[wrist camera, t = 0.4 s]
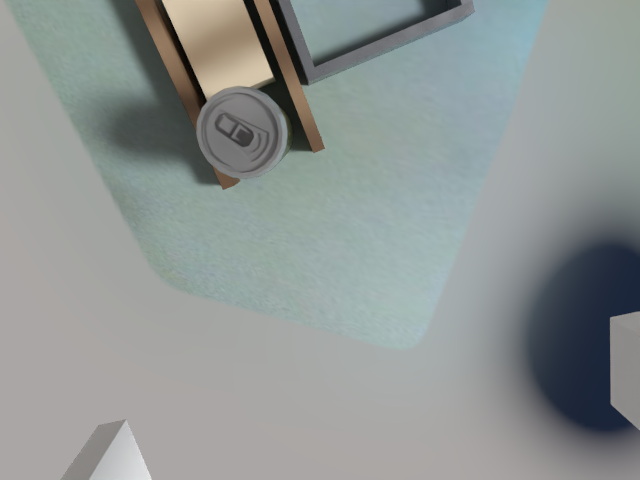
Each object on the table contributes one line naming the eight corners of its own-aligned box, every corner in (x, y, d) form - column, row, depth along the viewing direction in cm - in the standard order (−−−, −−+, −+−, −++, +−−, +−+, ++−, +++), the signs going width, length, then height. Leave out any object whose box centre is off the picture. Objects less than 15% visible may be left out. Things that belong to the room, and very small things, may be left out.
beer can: (219, 142, 34) (174, 146, 22) (252, 87, 33) (222, 62, 21) (272, 177, 35) (255, 198, 23) (305, 125, 34) (305, 120, 22)
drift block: (173, 9, 31) (160, -4, 28) (236, -19, 31) (229, -35, 28) (217, 106, 33) (208, 104, 31) (276, 81, 33) (273, 76, 30)
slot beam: (143, -3, 31) (126, -18, 28) (248, -50, 30) (241, -70, 27) (230, 185, 35) (223, 190, 32) (323, 147, 34) (324, 148, 31)
